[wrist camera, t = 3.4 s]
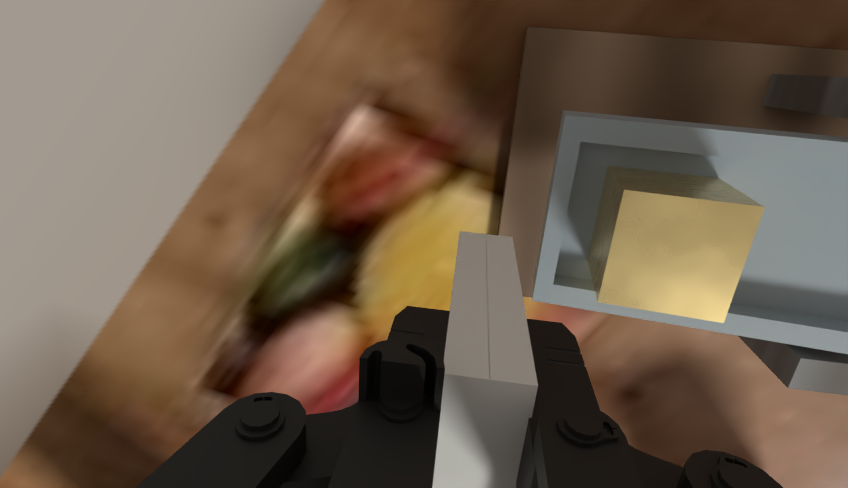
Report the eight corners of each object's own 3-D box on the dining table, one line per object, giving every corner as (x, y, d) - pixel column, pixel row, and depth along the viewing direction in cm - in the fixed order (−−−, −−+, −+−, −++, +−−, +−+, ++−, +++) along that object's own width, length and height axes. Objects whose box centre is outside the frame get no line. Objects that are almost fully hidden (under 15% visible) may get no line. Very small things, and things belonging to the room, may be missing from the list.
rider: (587, 258, 22) (597, 301, 18) (608, 165, 21) (623, 189, 17) (689, 274, 22) (724, 323, 17) (718, 178, 20) (765, 207, 16)
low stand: (490, 285, 32) (495, 377, 23) (526, 27, 26) (553, 9, 17) (946, 337, 30) (1156, 460, 21) (1096, 69, 24) (1482, 75, 15)
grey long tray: (533, 258, 28) (530, 307, 23) (561, 96, 25) (567, 105, 19) (1059, 339, 24) (1229, 429, 18) (1184, 152, 20) (1445, 186, 14)
